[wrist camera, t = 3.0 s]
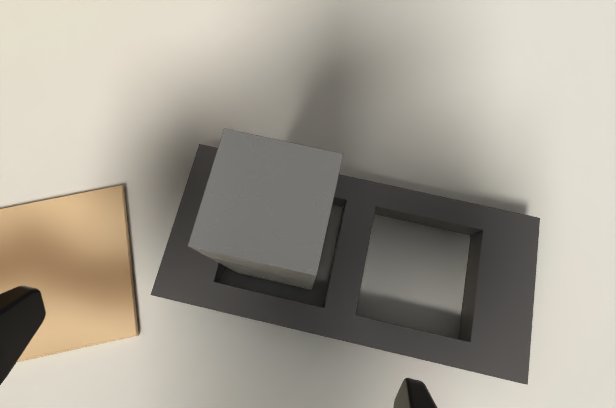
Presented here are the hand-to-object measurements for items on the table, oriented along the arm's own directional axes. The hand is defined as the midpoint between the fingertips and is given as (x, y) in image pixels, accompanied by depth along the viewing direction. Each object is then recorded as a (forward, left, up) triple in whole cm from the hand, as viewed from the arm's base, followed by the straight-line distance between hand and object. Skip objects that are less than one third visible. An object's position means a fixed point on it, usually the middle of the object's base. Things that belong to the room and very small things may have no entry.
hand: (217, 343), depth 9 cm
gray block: (+4, -2, -11) cm, 12 cm away
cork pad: (+5, +10, -11) cm, 16 cm away
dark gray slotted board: (+2, -5, -11) cm, 12 cm away
